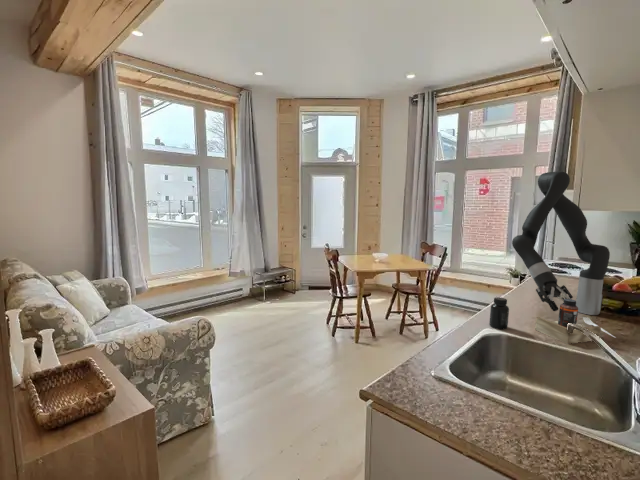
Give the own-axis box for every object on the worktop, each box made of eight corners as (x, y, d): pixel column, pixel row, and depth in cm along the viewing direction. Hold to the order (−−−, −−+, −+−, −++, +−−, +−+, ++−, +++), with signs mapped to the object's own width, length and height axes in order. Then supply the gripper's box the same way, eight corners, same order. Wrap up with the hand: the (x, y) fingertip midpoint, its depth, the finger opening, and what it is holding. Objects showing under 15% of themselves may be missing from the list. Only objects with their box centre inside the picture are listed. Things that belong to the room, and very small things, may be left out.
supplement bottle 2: (578, 331, 136) (582, 302, 134) (561, 329, 137) (565, 301, 135) (571, 325, 141) (574, 298, 140) (554, 324, 143) (558, 297, 141)
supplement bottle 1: (505, 325, 148) (508, 297, 146) (508, 330, 141) (511, 302, 140) (487, 322, 150) (490, 295, 149) (490, 328, 144) (492, 299, 142)
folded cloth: (564, 327, 148) (566, 314, 147) (599, 340, 135) (601, 327, 134) (535, 329, 144) (536, 317, 143) (567, 343, 130) (569, 330, 130)
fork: (610, 339, 139) (611, 334, 138) (580, 320, 158) (581, 316, 158) (619, 340, 138) (620, 335, 138) (588, 321, 158) (589, 317, 158)
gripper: (535, 271, 145) (557, 306, 135) (561, 270, 149) (585, 304, 139) (523, 280, 150) (544, 315, 141) (548, 279, 154) (570, 313, 145)
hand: (564, 309), depth 140 cm, fingers open, 8 cm apart
